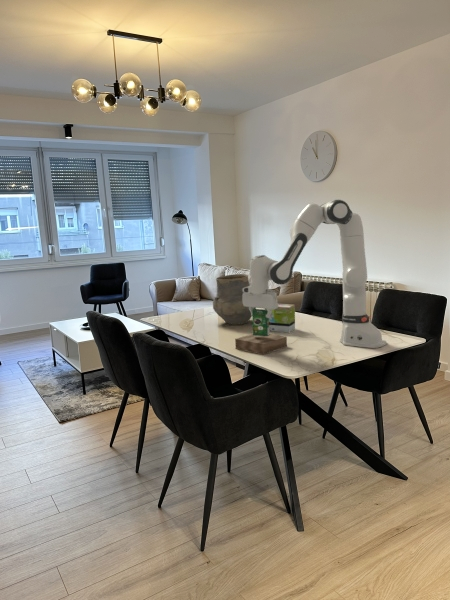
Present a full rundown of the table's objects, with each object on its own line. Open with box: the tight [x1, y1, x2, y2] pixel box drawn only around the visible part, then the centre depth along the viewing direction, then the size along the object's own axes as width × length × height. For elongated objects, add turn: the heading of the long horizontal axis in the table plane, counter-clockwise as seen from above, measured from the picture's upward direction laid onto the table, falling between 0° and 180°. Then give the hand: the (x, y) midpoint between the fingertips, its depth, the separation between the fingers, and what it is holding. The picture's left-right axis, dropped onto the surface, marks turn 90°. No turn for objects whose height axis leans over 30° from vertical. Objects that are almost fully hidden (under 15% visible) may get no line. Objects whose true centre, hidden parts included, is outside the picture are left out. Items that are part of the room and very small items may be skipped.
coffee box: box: [252, 308, 270, 336], centre depth 224 cm, size 8×3×13 cm, turn 65°
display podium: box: [234, 333, 288, 355], centre depth 226 cm, size 18×18×5 cm
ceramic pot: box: [212, 273, 257, 326], centre depth 286 cm, size 28×28×30 cm
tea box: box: [265, 303, 296, 334], centre depth 261 cm, size 15×10×15 cm
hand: (260, 316), depth 224 cm, fingers closed on coffee box, 8 cm apart
